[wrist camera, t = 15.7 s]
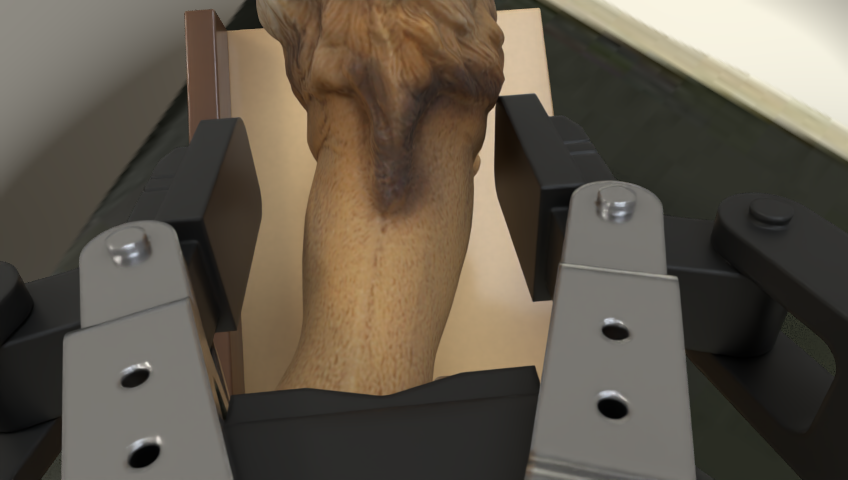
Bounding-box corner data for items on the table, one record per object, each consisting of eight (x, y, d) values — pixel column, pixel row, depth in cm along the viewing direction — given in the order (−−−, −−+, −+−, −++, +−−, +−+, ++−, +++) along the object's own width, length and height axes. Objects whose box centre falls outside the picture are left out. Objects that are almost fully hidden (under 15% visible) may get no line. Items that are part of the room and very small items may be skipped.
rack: (494, 121, 34) (549, -17, 21) (533, 465, 32) (626, 560, 18) (272, 139, 34) (183, 10, 20) (293, 490, 31) (206, 606, 18)
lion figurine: (285, 37, 18) (122, -287, 9) (475, 23, 17) (505, -321, 9) (296, 612, 15) (74, 987, 6) (523, 600, 15) (638, 966, 6)
